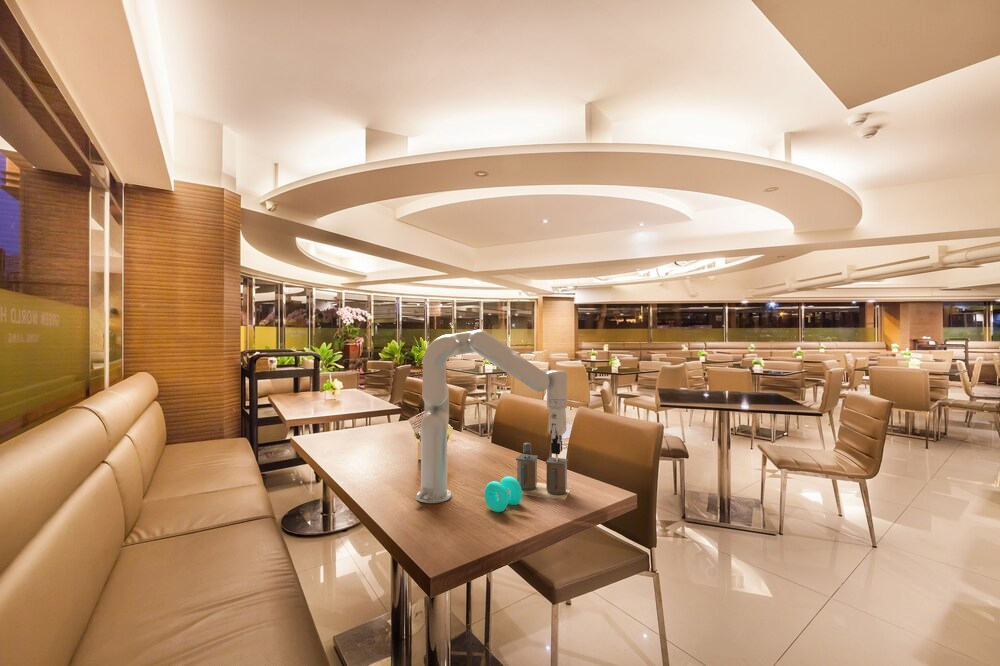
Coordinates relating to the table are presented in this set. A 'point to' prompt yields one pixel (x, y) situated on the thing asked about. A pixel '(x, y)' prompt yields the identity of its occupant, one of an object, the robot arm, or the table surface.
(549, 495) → the serving board
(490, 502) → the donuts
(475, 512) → the table surface
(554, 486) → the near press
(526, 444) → the far press
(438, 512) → the table surface
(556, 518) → the table surface
